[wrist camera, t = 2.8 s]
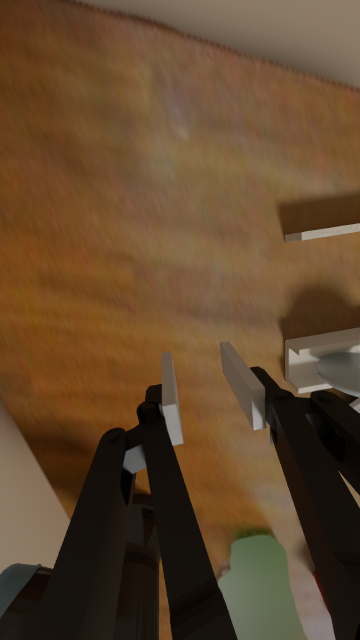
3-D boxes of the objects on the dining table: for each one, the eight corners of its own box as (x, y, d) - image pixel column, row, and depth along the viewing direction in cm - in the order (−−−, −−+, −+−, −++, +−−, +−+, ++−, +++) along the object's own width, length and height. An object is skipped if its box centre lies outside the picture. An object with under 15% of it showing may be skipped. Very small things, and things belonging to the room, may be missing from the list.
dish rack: (285, 380, 39) (298, 393, 35) (284, 234, 32) (301, 232, 28) (373, 364, 40) (396, 375, 36) (394, 218, 32) (425, 213, 29)
